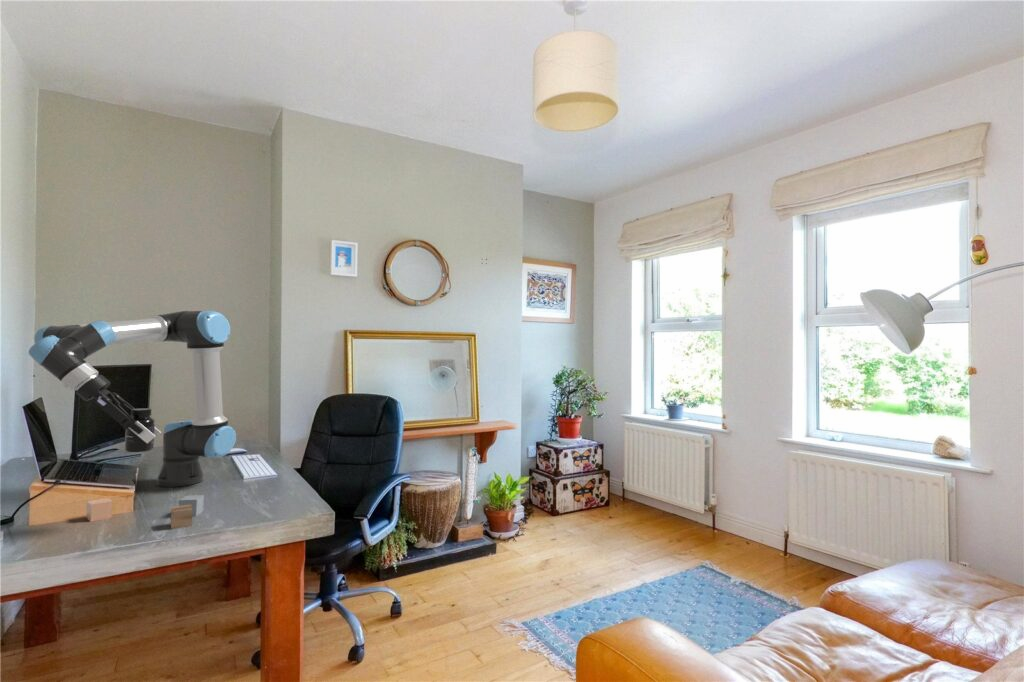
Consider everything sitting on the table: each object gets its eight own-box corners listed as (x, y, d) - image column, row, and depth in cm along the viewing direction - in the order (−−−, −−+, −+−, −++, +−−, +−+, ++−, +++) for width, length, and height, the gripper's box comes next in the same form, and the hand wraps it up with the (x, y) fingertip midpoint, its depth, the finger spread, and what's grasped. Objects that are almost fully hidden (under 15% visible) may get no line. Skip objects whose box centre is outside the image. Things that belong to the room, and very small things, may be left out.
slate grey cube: (185, 511, 161) (186, 495, 161) (203, 511, 162) (203, 495, 162) (178, 516, 156) (178, 500, 156) (196, 516, 157) (196, 499, 157)
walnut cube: (170, 524, 149) (171, 507, 149) (190, 521, 152) (191, 504, 152) (171, 529, 145) (171, 511, 145) (192, 526, 148) (192, 509, 148)
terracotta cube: (86, 518, 153) (87, 501, 153) (107, 514, 157) (108, 497, 157) (90, 521, 150) (91, 504, 150) (111, 517, 153) (112, 501, 154)
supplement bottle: (120, 452, 146) (121, 410, 146) (130, 448, 152) (132, 407, 153) (148, 452, 148) (149, 410, 148) (157, 447, 154) (159, 407, 155)
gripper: (86, 389, 153) (150, 441, 159) (62, 395, 135) (134, 453, 142) (109, 371, 155) (171, 423, 162) (88, 375, 137) (158, 433, 144)
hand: (154, 437), depth 152 cm, fingers closed on supplement bottle, 7 cm apart
